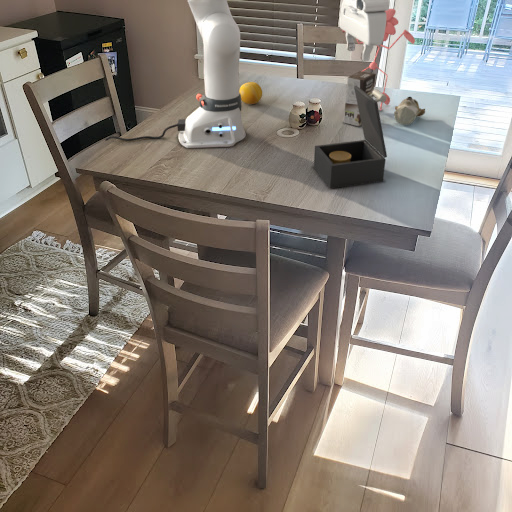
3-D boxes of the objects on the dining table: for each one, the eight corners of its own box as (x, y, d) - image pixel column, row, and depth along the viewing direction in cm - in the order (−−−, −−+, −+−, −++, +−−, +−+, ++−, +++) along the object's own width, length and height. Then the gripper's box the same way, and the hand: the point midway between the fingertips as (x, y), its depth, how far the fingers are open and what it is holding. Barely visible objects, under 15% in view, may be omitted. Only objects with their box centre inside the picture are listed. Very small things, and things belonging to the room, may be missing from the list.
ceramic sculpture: (390, 99, 188) (399, 88, 200) (386, 124, 193) (396, 112, 204) (421, 104, 184) (430, 93, 196) (417, 129, 189) (425, 117, 201)
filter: (332, 175, 160) (333, 161, 157) (325, 166, 165) (326, 152, 163) (353, 173, 161) (354, 158, 159) (345, 163, 166) (346, 149, 164)
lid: (374, 103, 144) (392, 95, 144) (353, 86, 155) (370, 79, 155) (384, 158, 154) (401, 150, 155) (364, 138, 166) (380, 132, 166)
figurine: (403, 114, 201) (418, 10, 181) (333, 106, 209) (340, 6, 189) (408, 100, 213) (423, 1, 193) (342, 93, 220) (349, -3, 200)
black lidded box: (330, 188, 156) (331, 165, 152) (313, 167, 167) (314, 145, 163) (382, 181, 159) (385, 159, 155) (363, 161, 170) (365, 139, 166)
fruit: (235, 104, 212) (234, 83, 207) (246, 98, 218) (246, 77, 213) (255, 108, 208) (254, 87, 204) (266, 102, 214) (266, 81, 209)
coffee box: (359, 126, 192) (363, 80, 183) (342, 122, 195) (346, 76, 186) (371, 118, 198) (376, 73, 189) (355, 115, 201) (359, 70, 192)
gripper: (335, -10, 143) (331, 46, 151) (367, 5, 127) (361, 67, 135) (358, -12, 144) (353, 44, 152) (393, 4, 128) (385, 65, 136)
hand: (357, 55), depth 143 cm, fingers open, 8 cm apart
